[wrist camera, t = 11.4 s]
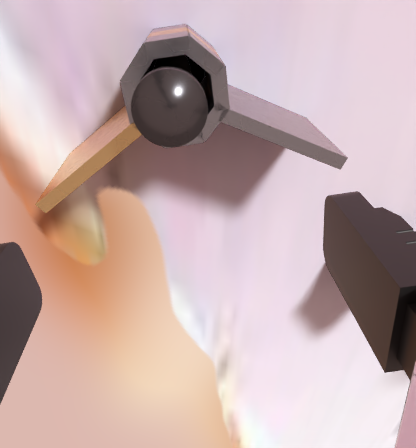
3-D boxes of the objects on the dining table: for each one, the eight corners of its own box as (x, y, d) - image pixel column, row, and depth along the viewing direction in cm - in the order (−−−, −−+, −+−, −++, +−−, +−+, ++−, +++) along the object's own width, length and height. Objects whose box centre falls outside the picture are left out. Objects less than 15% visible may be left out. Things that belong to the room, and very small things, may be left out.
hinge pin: (142, 46, 33) (122, 76, 21) (193, 38, 32) (202, 63, 21) (153, 98, 35) (140, 152, 23) (200, 91, 35) (212, 141, 23)
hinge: (33, 47, 32) (-23, 67, 23) (306, 5, 32) (357, 9, 23) (72, 161, 37) (39, 214, 28) (306, 126, 37) (347, 168, 28)
